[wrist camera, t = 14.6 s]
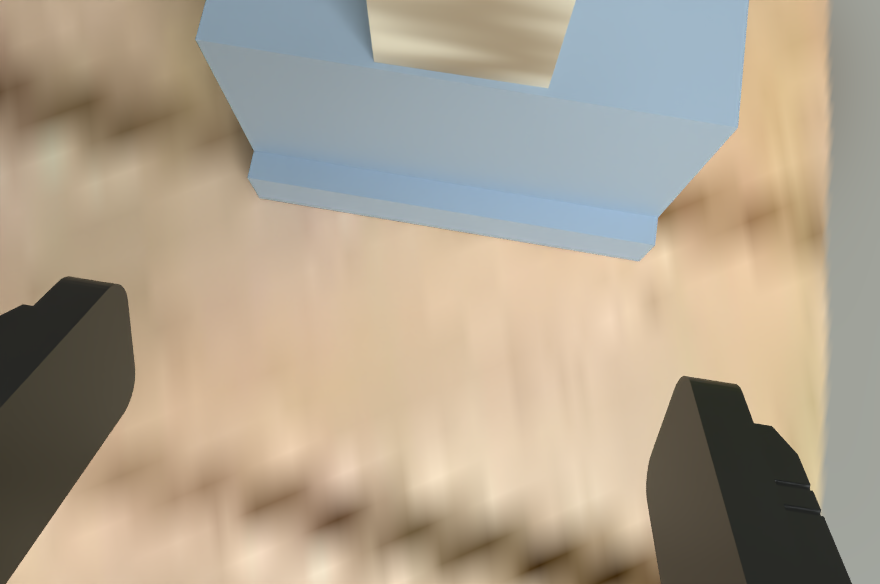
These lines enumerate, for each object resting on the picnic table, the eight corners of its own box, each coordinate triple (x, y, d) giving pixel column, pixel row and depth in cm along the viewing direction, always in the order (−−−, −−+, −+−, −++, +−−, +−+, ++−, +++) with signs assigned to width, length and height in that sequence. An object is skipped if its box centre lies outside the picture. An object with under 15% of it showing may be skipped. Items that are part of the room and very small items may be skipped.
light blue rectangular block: (259, 198, 29) (186, 74, 20) (299, 29, 30) (247, -154, 21) (638, 261, 28) (734, 164, 19) (658, 87, 30) (755, -75, 21)
